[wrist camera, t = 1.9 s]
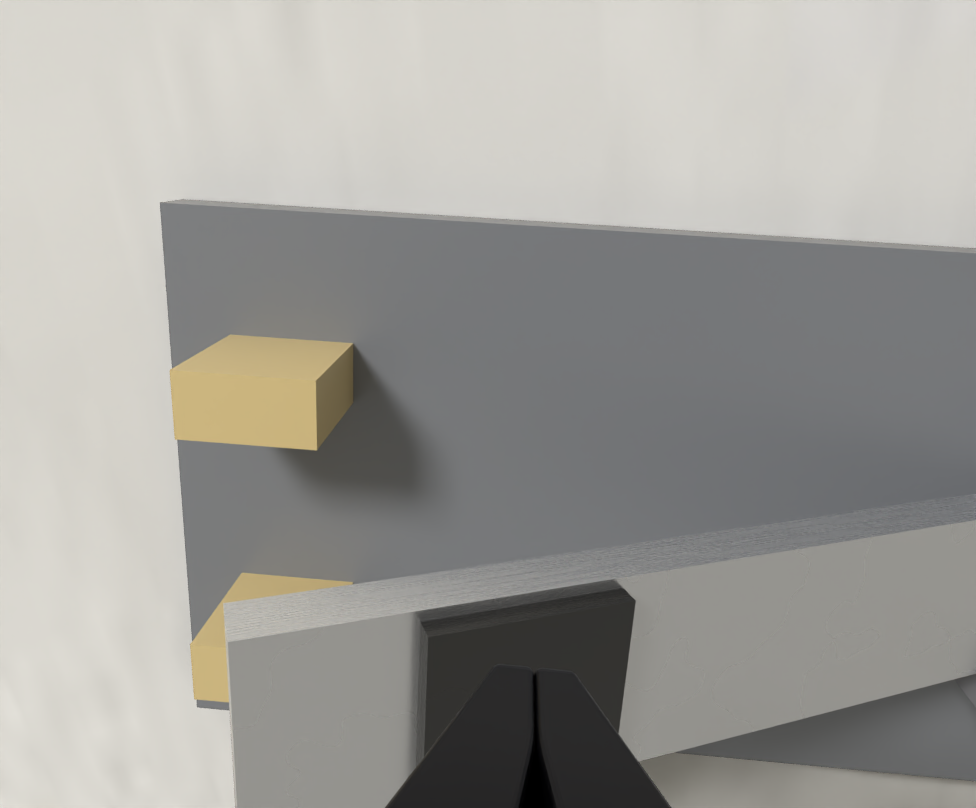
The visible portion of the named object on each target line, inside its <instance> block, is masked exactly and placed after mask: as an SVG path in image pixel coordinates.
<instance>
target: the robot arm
mask: <svg viewBox="0 0 976 808" xmlns="http://www.w3.org/2000/svg"><path fill="white" fill-rule="evenodd" d="M385 808H671V807H670V805H669V804H668V802H667V801H666V800H665V798H664V797H663V795H662V794H661V793H660V791H659V790H658V788H657V787H656V786H655V784H654V783H653V781H652V780H651V779H650V777H649V776H648V774H647V773H646V772H645V770H644V769H643V767H642V766H641V765H640V763H639V762H638V760H637V759H636V758H635V756H634V755H633V753H632V752H631V751H630V749H629V748H628V746H627V745H626V744H625V742H624V741H623V739H622V738H621V737H620V735H619V734H618V732H617V731H616V730H615V728H614V727H613V725H612V724H611V723H610V721H609V720H608V718H607V717H606V716H605V714H604V713H603V711H602V710H601V709H600V707H599V706H598V704H597V703H596V702H595V700H594V699H593V697H592V696H591V695H590V693H589V692H588V690H587V689H586V688H585V686H584V685H583V683H582V682H581V681H580V679H579V678H578V676H577V675H576V674H575V673H573V672H572V671H568V670H558V669H547V668H539V669H537V670H536V671H535V674H534V672H533V670H532V669H531V668H530V667H526V666H516V665H506V664H497V665H495V666H494V667H493V668H492V669H491V670H490V672H489V673H488V674H487V675H486V677H485V678H484V679H483V681H482V682H481V683H480V685H479V686H478V687H477V688H476V690H475V691H474V692H473V694H472V695H471V696H470V698H469V699H468V700H467V701H466V703H465V704H464V705H463V707H462V708H461V709H460V711H459V712H458V713H457V714H456V716H455V717H454V718H453V720H452V721H451V722H450V724H449V725H448V726H447V727H446V729H445V730H444V731H443V733H442V734H441V735H440V736H439V738H438V739H437V740H436V742H435V743H434V744H433V746H432V747H431V748H430V749H429V751H428V752H427V753H426V755H425V756H424V757H423V759H422V760H421V761H420V762H419V764H418V765H417V766H416V768H415V769H414V770H413V772H412V773H411V774H410V775H409V777H408V778H407V779H406V781H405V782H404V783H403V785H402V786H401V787H400V788H399V790H398V791H397V792H396V794H395V795H394V796H393V798H392V799H391V800H390V801H389V803H388V804H387V805H386V807H385Z"/></svg>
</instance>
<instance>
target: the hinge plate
mask: <svg viewBox="0 0 976 808" xmlns="http://www.w3.org/2000/svg"><path fill="white" fill-rule="evenodd" d="M160 211H161V224H162V238H163V251H164V265H165V279H166V292H167V306H168V319H169V333H170V346H171V360H172V369H171V370H170V381H171V394H172V408H173V421H174V434H175V439H176V440H177V441H178V455H179V468H180V482H181V495H182V509H183V523H184V536H185V550H186V563H187V577H188V590H189V604H190V617H191V631H192V643H191V644H190V648H191V662H192V675H193V688H194V699H197V707H199V708H210V709H220V710H229V693H228V676H227V659H226V642H225V624H224V607H223V603H228V602H235V601H242V600H249V599H256V598H262V597H269V596H276V595H283V594H290V593H297V592H303V591H310V590H317V589H324V588H331V587H338V586H345V585H351V584H358V583H365V582H372V581H379V580H386V579H392V578H399V577H406V576H413V575H420V574H427V573H434V572H440V571H447V570H454V569H461V568H468V567H475V566H481V565H488V564H495V563H502V562H509V561H516V560H523V559H529V558H536V557H543V556H550V555H557V554H564V553H570V552H577V551H584V550H591V549H598V548H605V547H612V546H618V545H625V544H632V543H639V542H646V541H653V540H659V539H666V538H673V537H680V536H687V535H694V534H701V533H707V532H714V531H721V530H728V529H735V528H742V527H748V526H755V525H762V524H769V523H776V522H783V521H790V520H796V519H803V518H810V517H817V516H824V515H831V514H837V513H844V512H851V511H858V510H865V509H872V508H879V507H885V506H892V505H899V504H906V503H913V502H920V501H926V500H933V499H940V498H947V497H954V496H961V495H968V494H974V493H976V248H960V247H944V246H928V245H911V244H895V243H879V242H863V241H847V240H831V239H814V238H798V237H782V236H766V235H750V234H734V233H718V232H701V231H685V230H669V229H653V228H637V227H621V226H604V225H588V224H572V223H556V222H540V221H524V220H507V219H491V218H475V217H459V216H443V215H427V214H410V213H394V212H378V211H362V210H346V209H330V208H313V207H297V206H281V205H265V204H249V203H233V202H217V201H200V200H184V199H182V200H175V201H168V202H161V203H160ZM674 753H684V754H695V755H705V756H716V757H726V758H737V759H747V760H758V761H768V762H779V763H790V764H800V765H811V766H821V767H832V768H842V769H853V770H863V771H874V772H884V773H895V774H905V775H916V776H927V777H937V778H948V779H958V780H969V781H976V674H973V675H969V676H965V677H961V678H957V679H954V680H950V681H946V682H942V683H938V684H934V685H931V686H927V687H923V688H919V689H915V690H911V691H908V692H904V693H900V694H896V695H892V696H888V697H885V698H881V699H877V700H873V701H869V702H865V703H862V704H858V705H854V706H850V707H846V708H842V709H839V710H835V711H831V712H827V713H823V714H819V715H816V716H812V717H808V718H804V719H800V720H796V721H793V722H789V723H785V724H781V725H777V726H773V727H770V728H766V729H762V730H758V731H754V732H750V733H747V734H743V735H739V736H735V737H731V738H727V739H724V740H720V741H716V742H712V743H708V744H704V745H701V746H697V747H693V748H689V749H685V750H681V751H678V752H674Z"/></svg>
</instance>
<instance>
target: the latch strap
mask: <svg viewBox="0 0 976 808" xmlns="http://www.w3.org/2000/svg"><path fill="white" fill-rule="evenodd" d="M223 607H224V624H225V642H226V659H227V676H228V693H229V710H230V727H231V744H232V762H233V779H234V796H235V808H385V807H386V805H387V804H388V803H389V801H390V800H391V799H392V798H393V796H394V795H395V794H396V792H397V791H398V790H399V788H400V787H401V786H402V785H403V783H404V782H405V781H406V779H407V778H408V777H409V775H410V774H411V773H412V772H413V770H414V769H415V768H416V766H417V765H418V764H419V762H420V761H421V760H422V759H423V757H424V756H425V755H426V753H427V752H428V751H429V749H430V748H431V747H432V746H433V744H434V743H435V742H436V740H437V739H438V738H439V736H440V735H441V734H442V733H443V731H444V730H445V729H446V727H447V726H448V725H449V724H450V722H451V721H452V720H453V718H454V717H455V716H456V714H457V713H458V712H459V711H460V709H461V708H462V707H463V705H464V704H465V703H466V701H467V700H468V699H469V698H470V696H471V695H472V694H473V692H474V691H475V690H476V688H477V687H478V686H479V685H480V683H481V682H482V681H483V679H484V678H485V677H486V675H487V674H488V673H489V672H490V670H491V669H492V668H493V667H494V666H495V665H497V664H506V665H516V666H526V667H530V668H531V669H532V670H533V672H534V674H535V671H536V670H537V669H539V668H547V669H558V670H568V671H572V672H573V673H575V674H576V675H577V676H578V678H579V679H580V681H581V682H582V683H583V685H584V686H585V688H586V689H587V690H588V692H589V693H590V695H591V696H592V697H593V699H594V700H595V702H596V703H597V704H598V706H599V707H600V709H601V710H602V711H603V713H604V714H605V716H606V717H607V718H608V720H609V721H610V723H611V724H612V725H613V727H614V728H615V730H616V731H617V732H618V734H619V735H620V737H621V738H622V739H623V741H624V742H625V744H626V745H627V746H628V748H629V749H630V751H631V752H632V753H633V755H634V756H635V758H636V759H637V760H638V762H639V761H643V760H647V759H651V758H655V757H658V756H662V755H666V754H670V753H674V752H678V751H681V750H685V749H689V748H693V747H697V746H701V745H704V744H708V743H712V742H716V741H720V740H724V739H727V738H731V737H735V736H739V735H743V734H747V733H750V732H754V731H758V730H762V729H766V728H770V727H773V726H777V725H781V724H785V723H789V722H793V721H796V720H800V719H804V718H808V717H812V716H816V715H819V714H823V713H827V712H831V711H835V710H839V709H842V708H846V707H850V706H854V705H858V704H862V703H865V702H869V701H873V700H877V699H881V698H885V697H888V696H892V695H896V694H900V693H904V692H908V691H911V690H915V689H919V688H923V687H927V686H931V685H934V684H938V683H942V682H946V681H950V680H954V679H957V678H961V677H965V676H969V675H973V674H976V493H974V494H968V495H961V496H954V497H947V498H940V499H933V500H926V501H920V502H913V503H906V504H899V505H892V506H885V507H879V508H872V509H865V510H858V511H851V512H844V513H837V514H831V515H824V516H817V517H810V518H803V519H796V520H790V521H783V522H776V523H769V524H762V525H755V526H748V527H742V528H735V529H728V530H721V531H714V532H707V533H701V534H694V535H687V536H680V537H673V538H666V539H659V540H653V541H646V542H639V543H632V544H625V545H618V546H612V547H605V548H598V549H591V550H584V551H577V552H570V553H564V554H557V555H550V556H543V557H536V558H529V559H523V560H516V561H509V562H502V563H495V564H488V565H481V566H475V567H468V568H461V569H454V570H447V571H440V572H434V573H427V574H420V575H413V576H406V577H399V578H392V579H386V580H379V581H372V582H365V583H358V584H351V585H345V586H338V587H331V588H324V589H317V590H310V591H303V592H297V593H290V594H283V595H276V596H269V597H262V598H256V599H249V600H242V601H235V602H228V603H223Z"/></svg>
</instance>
